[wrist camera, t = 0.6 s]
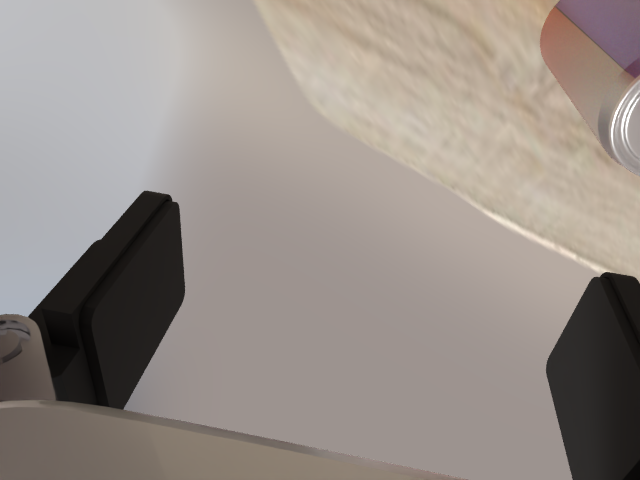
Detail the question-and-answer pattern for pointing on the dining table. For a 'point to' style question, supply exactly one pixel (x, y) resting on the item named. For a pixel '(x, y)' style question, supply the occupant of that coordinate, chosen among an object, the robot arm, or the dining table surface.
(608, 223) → the dining table surface
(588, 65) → the beverage can
